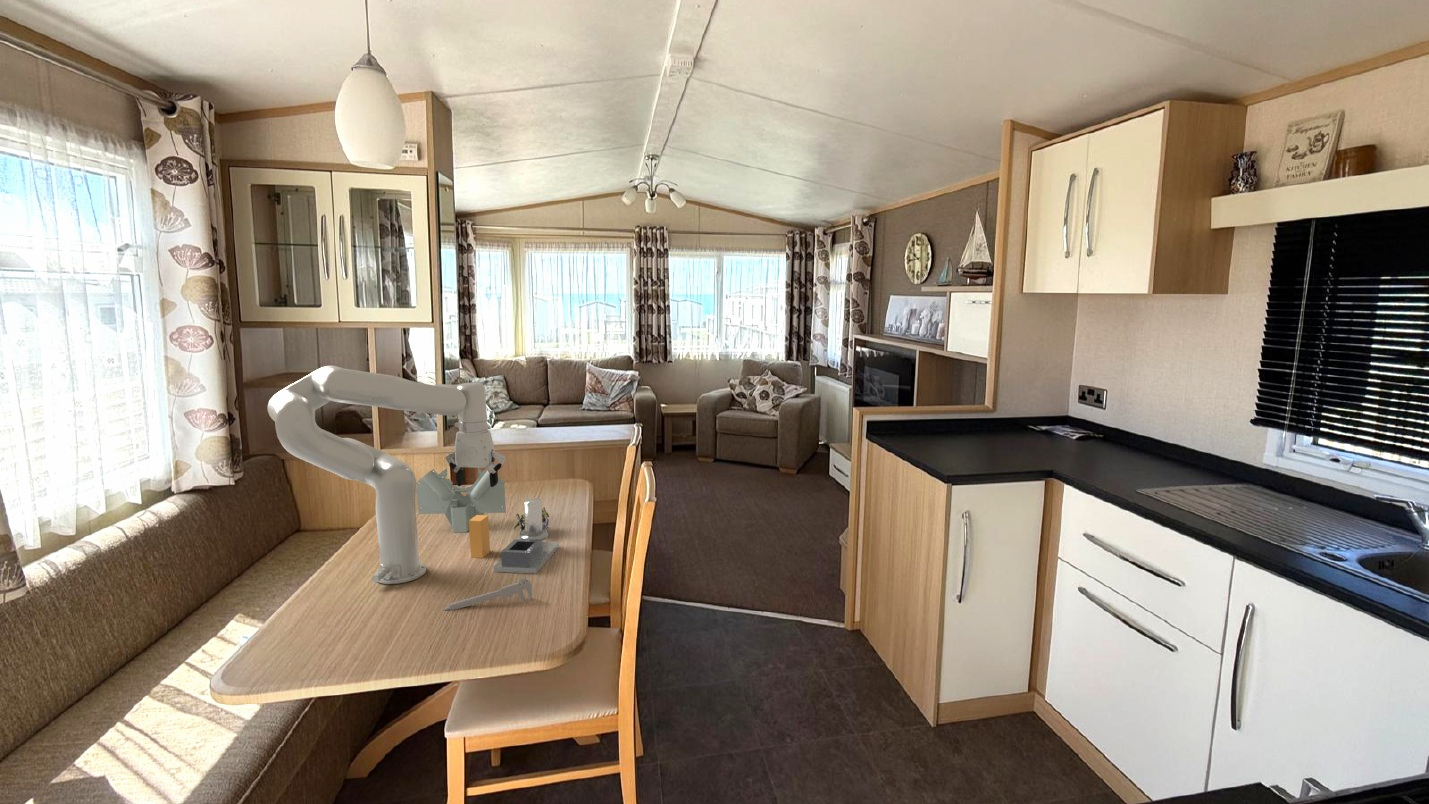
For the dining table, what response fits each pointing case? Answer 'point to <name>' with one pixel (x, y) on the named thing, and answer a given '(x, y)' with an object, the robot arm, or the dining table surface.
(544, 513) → the passion flower
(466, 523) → the bracket
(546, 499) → the dining table surface
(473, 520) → the tan rectangular block
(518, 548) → the gray socket post fixture
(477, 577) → the dining table surface
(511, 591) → the caliper
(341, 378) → the robot arm
